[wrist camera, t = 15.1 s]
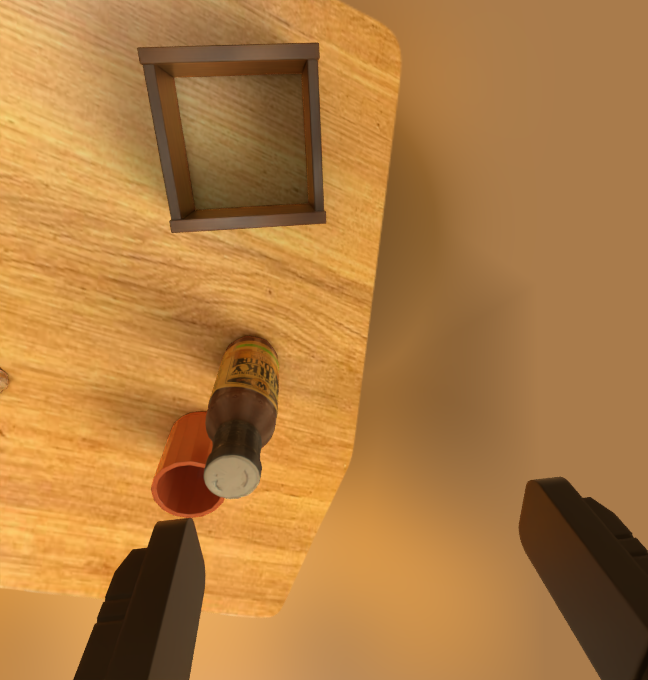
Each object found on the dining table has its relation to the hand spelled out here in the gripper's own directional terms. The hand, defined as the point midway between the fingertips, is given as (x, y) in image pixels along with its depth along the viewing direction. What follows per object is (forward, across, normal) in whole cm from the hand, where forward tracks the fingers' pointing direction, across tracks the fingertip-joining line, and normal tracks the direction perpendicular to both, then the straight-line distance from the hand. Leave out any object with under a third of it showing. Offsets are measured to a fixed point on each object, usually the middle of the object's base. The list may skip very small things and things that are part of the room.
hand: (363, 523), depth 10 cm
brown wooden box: (+37, +4, -8) cm, 38 cm away
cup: (+36, +14, +24) cm, 45 cm away
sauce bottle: (+37, +7, +14) cm, 40 cm away
